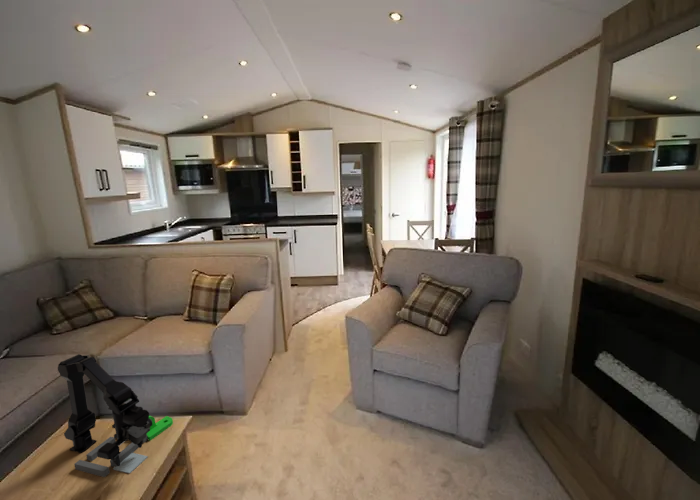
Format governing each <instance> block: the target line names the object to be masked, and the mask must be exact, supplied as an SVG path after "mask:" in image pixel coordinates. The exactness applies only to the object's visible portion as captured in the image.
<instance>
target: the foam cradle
mask: <svg viewBox="0 0 700 500" xmlns="http://www.w3.org/2000/svg"><path fill="white" fill-rule="evenodd" d="M115 441H117V439H116V438H114V436H109V437H108V438H107V439H105V440H104V441H103V442H102V443H99V445H97V446H96V447H95V448H93V449H92V450H90V451H89V452H87V453H86V460H81V459H78V460H77V461H76V462H75V463H73V464H74V465H73V466H74V469H75V470H77V471H80V472H84V473H87V474H91V475H93V476H97V477H102V478H106V477H107V476H108V475H109V474H110V473H111V471H110V467H113V468H114V467H115V466H117V465H116V464H115V463H114V462H113V461H112V460H111V459H109V462H110V466H106V465H102V464H97V463H94V462H93V461H94V460H95V459H97V458H99V457H98V456H97V451H98V449H100V448H101V447H102V446H104V445H105V444H106V443H112V444H113V443H114V442H115ZM148 441H149V440H148V436H147V435H146V438H145V439H143V443H142V444H145V443H146V442H148ZM138 449H140V448H139V447H138V445H137V444H134V443H133V442H130V444H128V445H127V446H126V447H124V448H123V449H122V450H121V451H120V452H121V453H120V454H119V459H120V463H121V462H122V461H123V460H124V459H125V458H127V457H128V456H129V455H130V454H131V453H135V452H136V451H137V450H138ZM89 461H90V462H89Z"/></svg>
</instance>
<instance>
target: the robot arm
mask: <svg viewBox="0 0 700 500" xmlns="http://www.w3.org/2000/svg"><path fill="white" fill-rule="evenodd" d="M57 371H58V374H59V375H60V377H61V378H63V379H65V380H66V384H67V389H68V395H69V402H70V407H71V414H70V416H69V418H68V421H67V428H66V430H65V431H64V432H63V435H64V438H65V439H66V440H68V441H69V440H70V441H72V446H71V447H69V451H72V452H74V453H75V452H76V453H79V454H80V453H83V452H85V451H86V450H87V449H89V448H90V447H92V445H94V444H96V442H97V440H96V439H93V437H92V433H91V430H92V429H94V428H96V421H97V417H96V413H95V412H93V411H92V410H90V409H89V407H88V402H87V396H86V395H87V394H86V388H85V381H84V375H85V376H86V377H87V378H88V380H89V381H91V382H92V383H93V384H94V385H95V386H96V387H97V388H98V389H99V390H100V391H101V392H102V394H103V395H102V396H103V397H102V398H103V401H104V402H105V404H106V406H107V408H108V410H109V411H112V413H111V414H112V418H113V424H112V426H111V428H112V429H114V430H115V434H114V435H113V437H114V438H115V439H116V441H115V442H114V443H113V444H112V443H106V444H105V445H104V446H102V447H101V448H100V449H98V451H97V456H98V457H97V458H101V459H104V460H109V461H110V460H112V461H113V462H114V463H115V464H116V465H117V466H120V459H119V454H120V453H121V451H120V446H122V445H123V444H124V443H125V442H127V441H129V442H130V443H132V442H133V443H134V444H137V445H138V447H139V448H138V449H141V448H142V447H143V444H144V443H143V439H145V438H146V435H147V433H148V432H149V431H150V427H151V426H152V420H151V419H149V416H150V412H149V411H148V410H147V409H144V408H143V407H142V406H137V405H136V404H138V403H139V402H140V400H139V399H138V395H137V394H136V393H135V392H134V391H133V389H132V388H131V387H130V386H128V385H127V384H125V382H122V381H117V380H115V379H114V378H113V377H112V376H111V375H110V374H109V373H108V372H107V371H106V370H105V369H104V368H103V367H102V366H101V365H100V364H98V362H97V359H96V358H95V357H94V356H90V354H86V355H82V354H79V353H78V354H76V355H74V356H71V357H69V358H66V359H65V360H62V361H60V362H59V363H58V365H57ZM130 399H131V400H130ZM127 401H128V402H127Z"/></svg>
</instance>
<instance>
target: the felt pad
mask: <svg viewBox="0 0 700 500" xmlns="http://www.w3.org/2000/svg"><path fill="white" fill-rule="evenodd" d="M148 458H149V456H148V455H144V454H139V453H135V452H133V453H131V454H130V455H129V456H128V457H127V458H125V459H124V460H123V461H122V462H121V463H120V466H115V467H113V468H112V470H114V471H117V472H121V473H126V474H129V475H130V474H131V473H132V472H134V471H135V469H137V467H139V466H140V465H141V464H142V463H143V462H144V461H145V460H147V459H148Z"/></svg>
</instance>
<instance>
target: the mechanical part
mask: <svg viewBox="0 0 700 500" xmlns="http://www.w3.org/2000/svg"><path fill="white" fill-rule="evenodd" d="M149 419H151V420H152V426H151V427H150V431H149V432H148V433H147V436H148V440H147V441H150V442H151V441H152V440H154V439H155V438H156V437H158V436H159V435H161V434H162V433H163V432H164V431H166V430H168V429H169V428H170V427H171V426H172V425H173V424H174V421H173V417H171V416H168V415H165V417H163V418H162V419H160V420H158V421H157V422H156V418H155V417H154V416H152V415H149Z"/></svg>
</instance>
